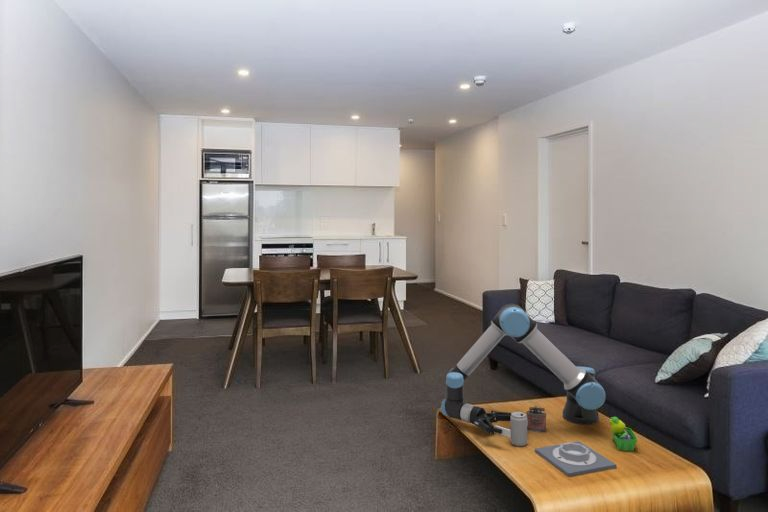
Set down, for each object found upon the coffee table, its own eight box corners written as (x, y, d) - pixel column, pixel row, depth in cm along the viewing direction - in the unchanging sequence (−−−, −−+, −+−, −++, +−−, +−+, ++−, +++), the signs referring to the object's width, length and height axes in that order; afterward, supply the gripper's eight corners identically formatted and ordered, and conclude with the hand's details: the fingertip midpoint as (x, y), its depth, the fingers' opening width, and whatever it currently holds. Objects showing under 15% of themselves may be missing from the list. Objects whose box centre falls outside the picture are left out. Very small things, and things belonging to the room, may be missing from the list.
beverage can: (527, 447, 189) (527, 417, 188) (510, 446, 190) (510, 416, 189) (526, 440, 195) (526, 411, 194) (510, 439, 196) (509, 410, 196)
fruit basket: (638, 453, 183) (638, 423, 182) (612, 451, 185) (612, 422, 184) (630, 440, 194) (630, 412, 193) (606, 438, 196) (606, 411, 195)
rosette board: (579, 444, 191) (579, 434, 191) (616, 467, 172) (616, 456, 171) (534, 451, 185) (534, 441, 185) (568, 476, 166) (568, 465, 166)
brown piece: (526, 430, 205) (526, 407, 204) (526, 427, 208) (526, 404, 208) (546, 433, 202) (546, 409, 201) (546, 430, 205) (546, 406, 204)
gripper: (489, 415, 216) (533, 427, 201) (456, 432, 198) (502, 447, 183) (489, 398, 215) (533, 410, 200) (456, 414, 197) (502, 428, 183)
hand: (519, 428), depth 192 cm, fingers open, 13 cm apart
